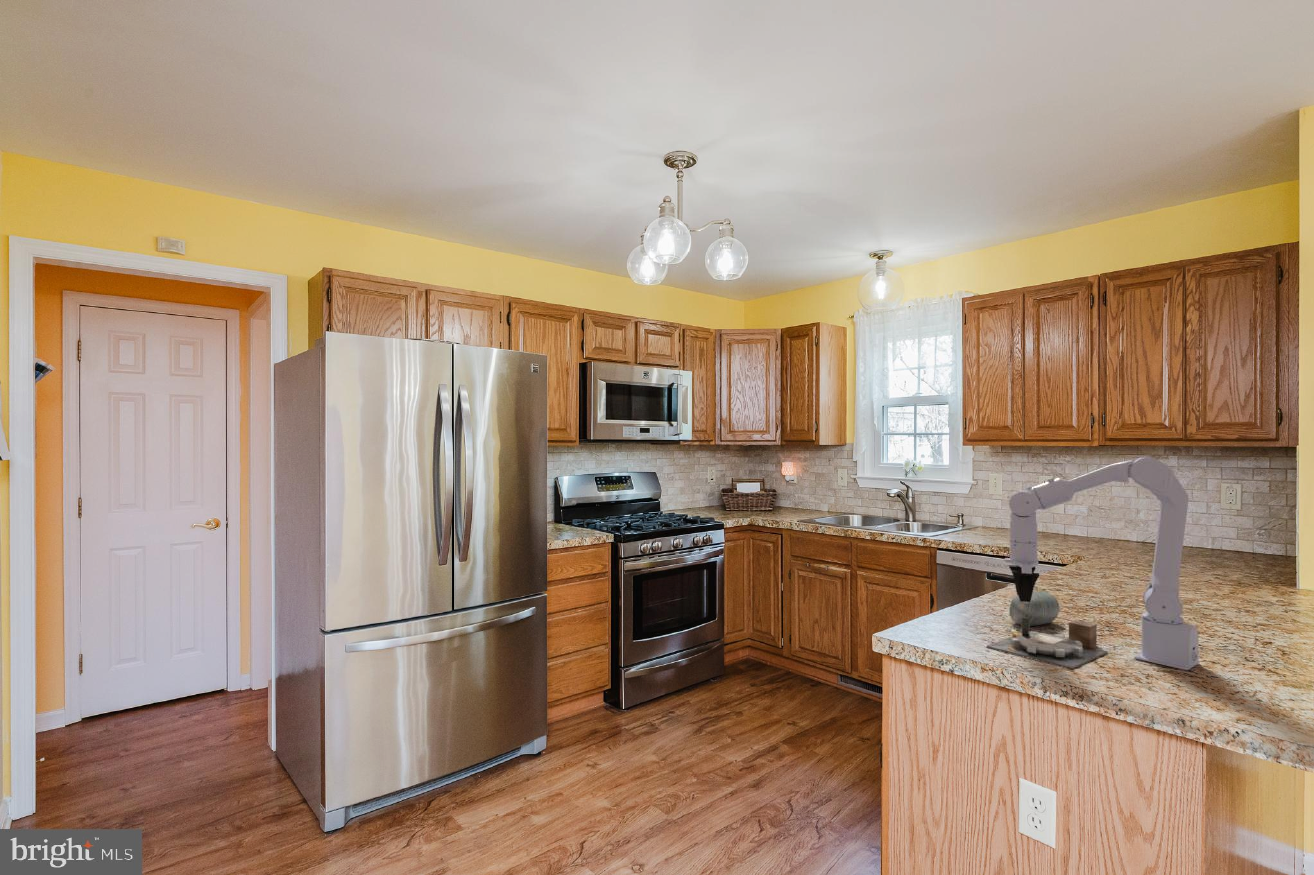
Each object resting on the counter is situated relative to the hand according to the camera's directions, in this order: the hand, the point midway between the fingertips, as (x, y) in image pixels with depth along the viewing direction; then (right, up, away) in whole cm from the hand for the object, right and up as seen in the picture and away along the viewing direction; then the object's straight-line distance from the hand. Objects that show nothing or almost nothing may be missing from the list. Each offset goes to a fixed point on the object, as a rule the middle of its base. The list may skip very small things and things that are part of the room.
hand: (1023, 598), depth 158 cm
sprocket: (+1, -10, -8) cm, 13 cm away
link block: (+12, -10, -3) cm, 16 cm away
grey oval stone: (+11, -10, +14) cm, 21 cm away
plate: (+1, -10, -8) cm, 13 cm away
